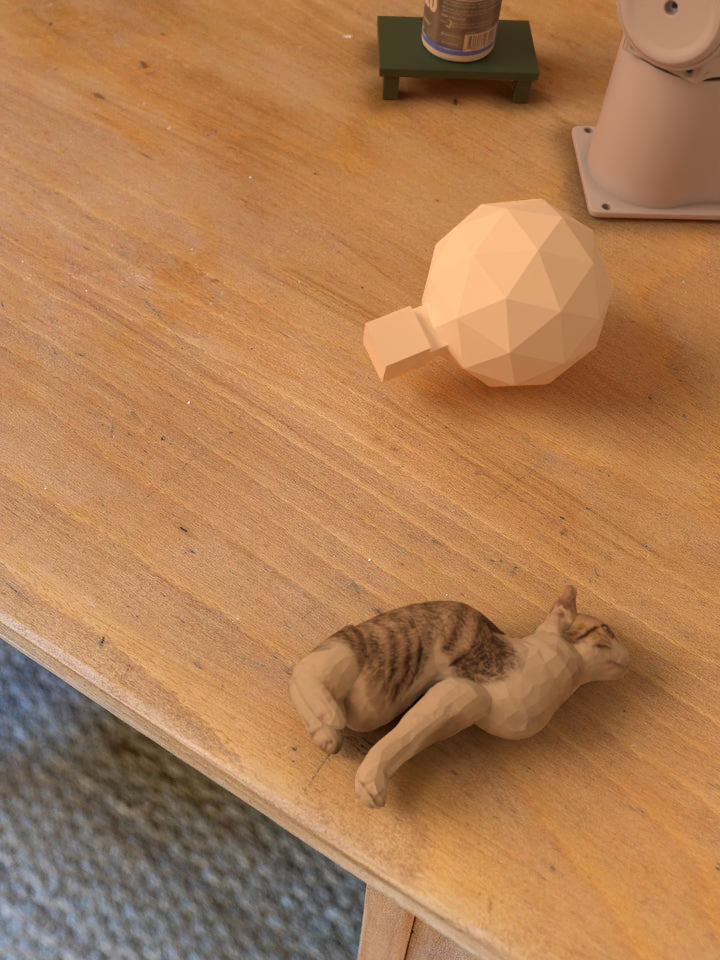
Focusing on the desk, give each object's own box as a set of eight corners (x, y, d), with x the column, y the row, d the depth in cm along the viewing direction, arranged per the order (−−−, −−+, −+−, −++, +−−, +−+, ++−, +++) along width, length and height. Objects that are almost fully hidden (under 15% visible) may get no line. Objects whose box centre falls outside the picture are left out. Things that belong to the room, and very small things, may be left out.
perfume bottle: (536, 233, 51) (334, 312, 49) (584, 132, 42) (340, 224, 40) (609, 372, 49) (403, 459, 47) (676, 298, 40) (425, 401, 38)
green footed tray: (522, 52, 63) (529, 20, 61) (532, 105, 60) (540, 73, 58) (375, 48, 63) (377, 15, 61) (377, 101, 60) (379, 68, 58)
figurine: (582, 1084, 28) (874, 782, 34) (272, 659, 34) (567, 462, 39) (542, 1078, 32) (811, 807, 37) (270, 697, 37) (539, 512, 43)
